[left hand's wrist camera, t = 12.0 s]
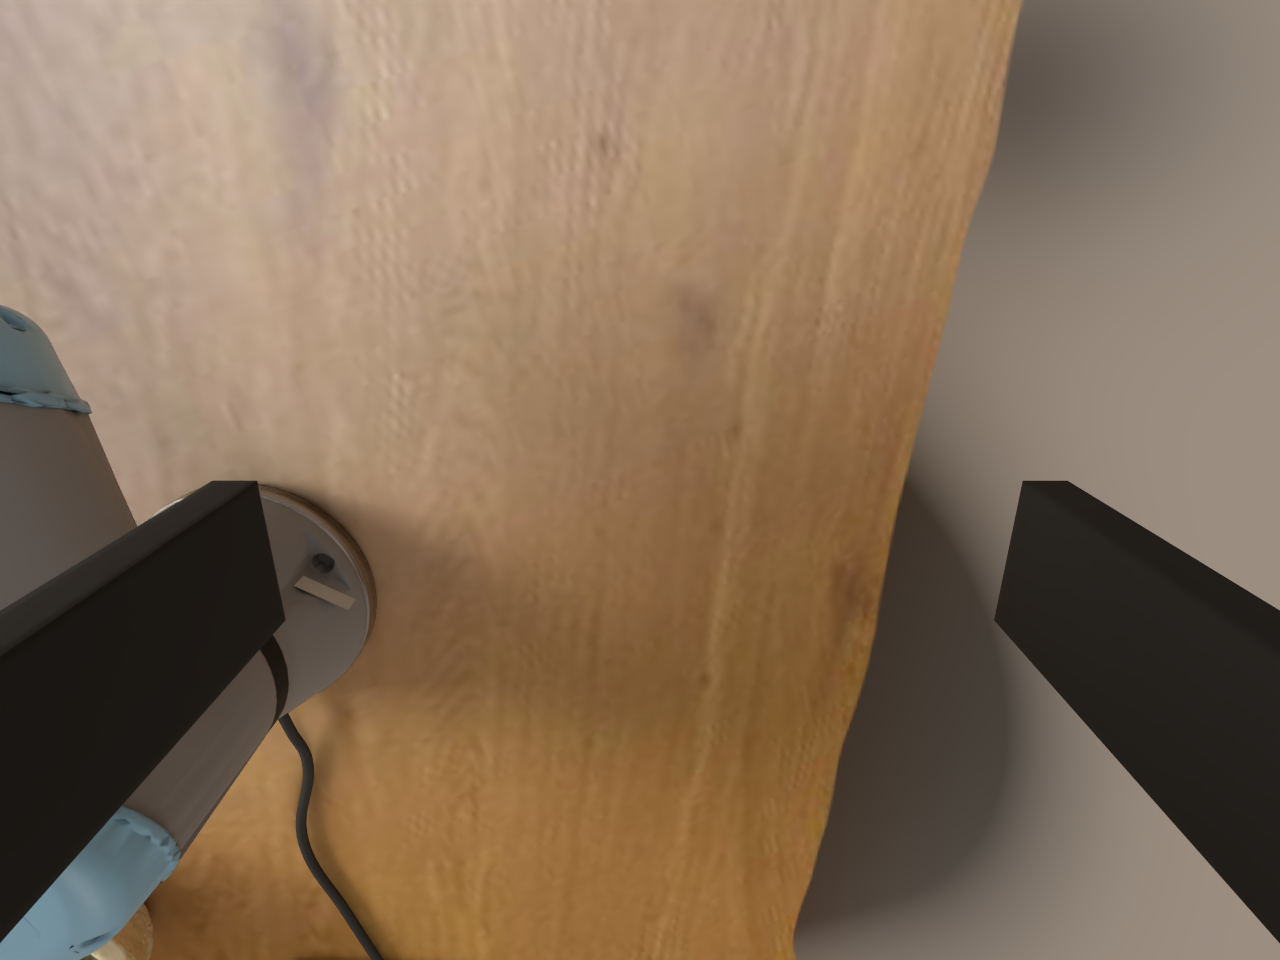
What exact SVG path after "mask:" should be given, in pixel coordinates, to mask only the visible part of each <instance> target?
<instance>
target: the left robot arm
mask: <svg viewBox="0 0 1280 960" xmlns="http://www.w3.org/2000/svg"><path fill="white" fill-rule="evenodd" d="M91 413H92V412H91V409H90V406H89V404H88V403H87V402H86V401H84V400H82V399H80V397H79V395H78V393H77V392H76V390H75V388H74V386H73V384H72V382H71V381H70V379H69V377H68V375H67V373H66V371H65V369H64V368H63V366H62V364H61V362H60V360H59V358H58V356H57V354H56V352H55V350H54V348H53V346H52V344H51V342H50V340H49V339H48V337H47V336H46V334H45V333H44V332H43V330H42V329H41V328H40V327H39V326H38V325H37V324H36V323H35V322H33V321H32V320H31V319H29V318H28V317H26V316H25V315H23V314H21V313H19V312H18V311H15V310H13V309H11V308H8V307H5V306H2V305H0V960H80V959H82V958H84V957H86V956H88V955H90V954H91V953H93V952H95V951H96V950H97V949H99V948H100V947H102V946H103V945H105V944H106V943H107V942H108V941H110V940H111V939H112V938H113V937H114V936H115V935H116V934H117V933H119V932H120V930H121V929H122V928H123V927H124V926H125V925H126V924H127V923H128V921H129V920H130V919H131V918H132V916H133V915H134V914H135V913H136V911H137V910H138V909H139V908H140V907H141V905H142V904H143V903H144V902H145V900H146V899H147V898H148V897H149V896H150V894H151V893H152V892H153V891H154V889H155V888H156V887H157V886H158V884H160V883H162V882H163V881H164V880H166V879H167V878H168V877H169V876H170V875H171V874H172V872H173V871H174V870H175V868H176V866H178V862H179V860H180V859H181V858H182V856H183V855H184V853H185V852H186V850H187V849H188V847H189V846H190V845H191V843H192V842H193V840H194V839H195V837H196V836H197V834H198V833H199V832H200V830H201V829H202V827H203V826H204V824H205V823H206V821H207V820H208V819H209V817H210V816H211V814H212V813H213V811H214V810H215V808H216V807H217V806H218V804H219V803H220V801H221V800H222V798H223V797H224V796H225V794H226V793H227V791H228V790H229V788H230V787H231V785H232V784H233V783H234V781H235V780H236V778H237V777H238V775H239V774H240V772H241V771H242V770H243V768H244V767H245V765H246V764H247V762H248V761H249V759H250V758H251V757H252V755H253V754H254V752H255V751H256V749H257V748H258V746H259V745H260V744H261V742H262V741H263V739H264V738H265V736H266V735H267V733H268V732H269V731H270V729H271V728H272V727H273V725H274V724H275V722H276V721H277V720H279V722H280V724H281V726H282V728H283V730H284V731H285V733H286V735H287V737H288V738H289V740H290V741H291V742H292V744H293V745H294V746H295V748H296V749H297V751H298V752H299V754H300V757H301V760H302V766H303V783H302V789H301V794H300V799H299V804H298V809H297V816H296V834H297V839H298V844H299V847H300V850H301V853H302V855H303V858H304V860H305V862H306V864H307V866H308V867H309V869H310V871H311V872H312V874H313V875H314V877H315V878H316V880H317V881H318V883H319V884H320V885H321V887H322V888H323V889H324V891H325V892H326V893H327V895H328V896H329V897H330V898H331V900H332V901H333V902H334V904H335V905H336V907H337V908H338V909H339V911H340V912H341V914H342V915H343V917H344V919H345V920H346V922H347V923H348V925H349V926H350V928H351V929H352V931H353V933H354V934H355V936H356V937H357V939H358V940H359V942H360V943H361V945H362V946H363V948H364V949H365V951H366V952H367V954H368V955H369V957H370V958H371V960H383V958H382V957H381V955H380V954H379V952H378V950H377V949H376V947H375V946H374V944H373V943H372V941H371V940H370V938H369V937H368V935H367V934H366V932H365V931H364V929H363V928H362V926H361V925H360V923H359V921H358V920H357V918H356V917H355V915H354V914H353V912H352V910H351V909H350V907H349V906H348V904H347V903H346V901H345V900H344V899H343V897H342V896H341V894H340V893H339V892H338V890H337V889H336V888H335V886H334V885H333V884H332V882H331V881H330V880H329V878H328V877H327V876H326V874H325V873H324V871H323V870H322V868H321V867H320V865H319V863H318V862H317V860H316V858H315V856H314V854H313V851H312V849H311V846H310V843H309V840H308V835H307V828H306V818H307V810H308V804H309V800H310V795H311V790H312V785H313V777H314V765H313V759H312V755H311V752H310V749H309V747H308V746H307V744H306V743H305V741H304V740H303V738H302V737H301V736H300V734H299V733H298V731H297V729H296V728H295V726H294V724H293V722H292V720H291V718H290V716H289V714H288V712H290V711H291V710H293V709H294V708H296V707H297V706H299V705H300V704H302V703H303V702H305V701H306V700H308V699H309V698H311V697H312V696H313V695H315V694H317V693H319V692H321V691H322V690H324V689H326V688H327V687H329V686H330V685H331V684H333V683H334V682H335V681H336V680H337V679H338V678H340V677H341V676H342V675H343V674H344V673H345V672H346V671H347V670H348V669H349V668H350V667H351V665H352V664H353V663H354V661H355V660H356V658H357V657H358V655H359V654H360V652H361V651H362V649H363V647H364V646H365V644H366V643H367V641H368V639H369V637H370V635H371V632H372V629H373V626H374V622H375V617H376V591H375V586H374V581H373V577H372V575H371V572H370V569H369V566H368V564H367V562H366V560H365V558H364V556H363V554H362V553H361V551H360V549H359V548H358V546H357V545H356V544H355V542H354V541H353V539H352V538H351V537H350V536H349V535H348V534H347V532H346V531H345V530H344V529H343V528H342V527H341V526H340V525H339V524H338V523H337V522H336V521H335V520H333V519H332V518H331V517H330V516H328V515H327V514H326V513H325V512H323V511H322V510H320V509H319V508H317V507H316V506H314V505H313V504H311V503H309V502H307V501H306V500H304V499H302V498H299V497H297V496H295V495H293V494H290V493H288V492H285V491H282V490H279V489H276V488H272V487H268V486H263V485H258V483H257V481H211V482H210V483H208V484H207V485H205V486H203V487H202V488H200V489H197V490H195V491H192V492H190V493H188V494H186V495H184V496H182V497H180V498H178V499H177V500H175V501H174V502H172V503H170V504H169V505H167V506H165V507H164V508H162V509H161V510H159V511H158V512H157V513H155V514H154V515H153V516H152V517H151V518H150V519H149V520H148V521H146V522H144V523H143V524H141V525H139V526H138V527H137V525H136V522H135V520H134V518H133V516H132V514H131V511H130V509H129V507H128V505H127V503H126V500H125V498H124V496H123V494H122V492H121V489H120V487H119V485H118V483H117V481H116V478H115V476H114V474H113V471H112V469H111V466H110V464H109V462H108V459H107V457H106V455H105V452H104V450H103V448H102V445H101V443H100V441H99V438H98V436H97V434H96V431H95V429H94V427H93V424H92V422H91V420H90V417H89V415H88V414H91ZM994 621H995V622H996V623H997V624H998V625H999V626H1000V627H1001V628H1002V630H1003V631H1004V632H1005V633H1006V634H1007V635H1008V636H1009V637H1010V639H1011V640H1012V641H1013V642H1014V643H1015V644H1016V645H1017V647H1018V648H1019V649H1020V650H1021V651H1022V652H1023V653H1024V654H1025V656H1026V657H1027V658H1028V659H1029V660H1030V661H1031V662H1032V663H1033V665H1034V666H1035V667H1036V668H1037V669H1038V670H1039V671H1040V673H1041V674H1042V675H1043V676H1044V677H1045V678H1046V679H1047V680H1048V682H1049V683H1050V684H1051V685H1052V686H1053V687H1054V688H1055V689H1056V691H1057V692H1058V693H1059V694H1060V695H1061V696H1062V697H1063V699H1064V700H1065V701H1066V702H1067V703H1068V704H1069V705H1070V706H1071V708H1072V709H1073V710H1074V711H1075V712H1076V713H1077V714H1078V715H1079V717H1080V718H1081V719H1082V720H1083V721H1084V722H1085V723H1086V725H1087V726H1088V727H1089V728H1090V729H1091V730H1092V731H1093V732H1094V734H1095V735H1096V736H1097V737H1098V738H1099V739H1100V740H1101V741H1102V743H1103V744H1104V745H1105V746H1106V747H1107V748H1108V749H1109V751H1110V752H1111V753H1112V754H1113V755H1114V756H1115V757H1116V758H1117V760H1118V761H1119V762H1120V763H1121V764H1122V765H1123V766H1124V768H1125V769H1126V770H1127V771H1128V772H1129V773H1130V774H1131V775H1132V777H1133V778H1134V779H1135V780H1136V781H1137V782H1138V783H1139V784H1140V786H1141V787H1142V788H1143V789H1144V790H1145V791H1146V792H1147V794H1148V795H1149V796H1150V797H1151V798H1152V799H1153V800H1154V801H1155V803H1156V804H1157V805H1158V806H1159V807H1160V808H1161V809H1162V811H1163V812H1164V813H1165V814H1166V815H1167V816H1168V817H1169V818H1170V820H1171V821H1172V822H1173V823H1174V824H1175V825H1176V826H1177V828H1178V829H1179V830H1180V831H1181V832H1182V833H1183V834H1184V835H1185V837H1186V838H1187V839H1188V840H1189V841H1190V842H1191V843H1192V844H1193V846H1194V847H1195V848H1196V849H1197V850H1198V851H1199V852H1200V854H1201V855H1202V856H1203V857H1204V858H1205V859H1206V860H1207V861H1208V863H1209V864H1210V865H1211V866H1212V867H1213V868H1214V869H1215V871H1216V872H1217V873H1218V874H1219V875H1220V876H1221V877H1222V878H1223V880H1224V881H1225V882H1226V883H1227V884H1228V885H1229V886H1230V887H1231V889H1232V890H1233V891H1234V892H1235V893H1236V894H1237V895H1238V896H1239V898H1240V899H1241V900H1242V901H1243V902H1244V903H1245V904H1246V906H1247V907H1248V908H1249V909H1250V910H1251V911H1252V912H1253V913H1254V915H1255V916H1256V917H1257V918H1258V919H1259V920H1260V921H1261V923H1262V924H1263V925H1264V926H1265V927H1266V928H1267V929H1268V930H1269V932H1270V933H1271V934H1272V935H1273V936H1274V937H1275V938H1276V939H1277V941H1278V942H1279V943H1280V610H1278V609H1276V608H1275V607H1273V606H1271V605H1270V604H1268V603H1266V602H1265V601H1263V600H1262V599H1260V598H1258V597H1257V596H1255V595H1253V594H1252V593H1250V592H1248V591H1247V590H1245V589H1244V588H1242V587H1240V586H1239V585H1237V584H1235V583H1234V582H1232V581H1230V580H1229V579H1227V578H1226V577H1224V576H1222V575H1221V574H1219V573H1217V572H1216V571H1214V570H1212V569H1211V568H1209V567H1208V566H1206V565H1204V564H1203V563H1201V562H1199V561H1198V560H1196V559H1195V558H1193V557H1191V556H1190V555H1188V554H1186V553H1185V552H1183V551H1181V550H1180V549H1178V548H1176V547H1175V546H1173V545H1172V544H1170V543H1168V542H1167V541H1165V540H1163V539H1162V538H1160V537H1158V536H1157V535H1155V534H1154V533H1152V532H1150V531H1149V530H1147V529H1145V528H1144V527H1142V526H1141V525H1139V524H1137V523H1136V522H1134V521H1132V520H1131V519H1129V518H1127V517H1126V516H1124V515H1122V514H1121V513H1119V512H1118V511H1116V510H1114V509H1113V508H1111V507H1109V506H1108V505H1106V504H1104V503H1103V502H1101V501H1100V500H1098V499H1096V498H1095V497H1093V496H1091V495H1090V494H1088V493H1087V492H1085V491H1083V490H1082V489H1080V488H1078V487H1077V486H1075V485H1073V484H1072V483H1070V482H1068V481H1023V483H1022V487H1021V493H1020V497H1019V502H1018V507H1017V512H1016V517H1015V522H1014V526H1013V531H1012V536H1011V541H1010V546H1009V551H1008V556H1007V561H1006V565H1005V570H1004V575H1003V580H1002V585H1001V590H1000V595H999V599H998V605H997V609H996V614H995V619H994Z"/></svg>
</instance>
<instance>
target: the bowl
mask: <svg viewBox="0 0 1280 960" xmlns="http://www.w3.org/2000/svg"><path fill="white" fill-rule="evenodd" d="M152 933H153V926H152V922H151V918H150V916H149V912H148V910H147V908H146V906H145V904H144V903H143V904H142V905H141V907H140V908H139V909H138V910H137V911H136V913H135V914H134V915H133V916H132V918H131V919H130V920H129V921H128V923H127V924H126V925H125V926H124V927H123V928H122V929H121V930H120V932H119V933H117V934H116V935H115V936H114V937H113V938H112V939H111V940H110V941H108V942H107V943H106V944H105V945H103V946H102V947H100V948H99V949H97V950H96V951H95V952H93V953H91V954H90V955H88V956H86V957H84V958H82V959H80V960H149V958H150V955H151V950H152V947H153V934H152Z"/></svg>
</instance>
